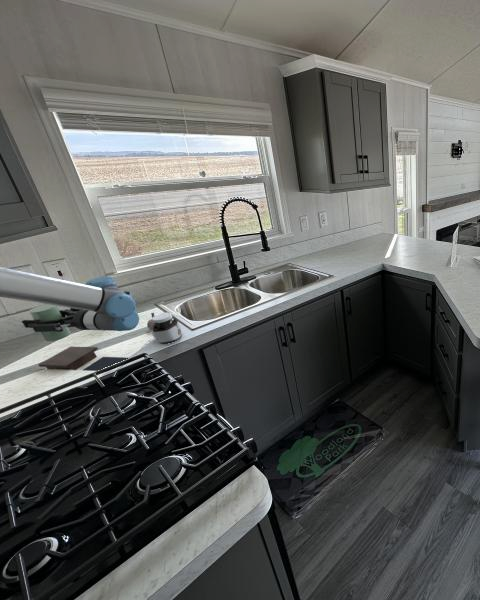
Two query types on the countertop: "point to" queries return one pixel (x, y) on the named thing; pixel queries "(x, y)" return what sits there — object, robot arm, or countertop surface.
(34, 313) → the sage green cylinder
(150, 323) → the garlic bulb
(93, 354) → the stand
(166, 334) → the spread jar
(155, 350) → the countertop surface
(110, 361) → the mat
